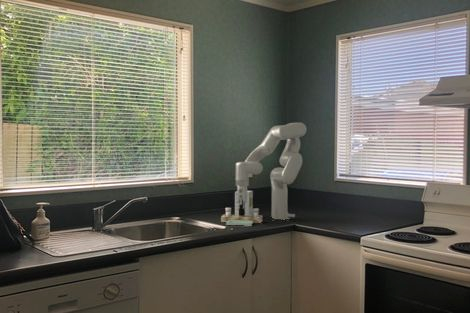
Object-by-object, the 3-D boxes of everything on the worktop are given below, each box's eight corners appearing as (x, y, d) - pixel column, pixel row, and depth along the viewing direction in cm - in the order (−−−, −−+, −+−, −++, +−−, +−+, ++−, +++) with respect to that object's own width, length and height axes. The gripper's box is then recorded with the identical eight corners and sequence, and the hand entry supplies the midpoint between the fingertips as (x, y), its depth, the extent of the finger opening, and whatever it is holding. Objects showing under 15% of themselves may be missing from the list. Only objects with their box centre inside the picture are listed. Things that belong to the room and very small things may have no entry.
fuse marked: (245, 221, 276) (245, 207, 276) (244, 222, 273) (244, 208, 273) (239, 221, 277) (239, 207, 276) (238, 222, 273) (238, 208, 273)
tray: (253, 224, 269) (253, 220, 269) (251, 227, 260) (251, 223, 260) (228, 223, 271) (228, 220, 271) (226, 226, 262) (226, 222, 262)
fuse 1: (231, 221, 277) (231, 207, 277) (230, 222, 274) (230, 208, 274) (225, 221, 278) (226, 207, 277) (225, 222, 274) (225, 208, 274)
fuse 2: (258, 222, 275) (258, 208, 275) (258, 222, 272) (258, 209, 272) (253, 221, 275) (253, 208, 275) (252, 222, 272) (252, 208, 272)
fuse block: (262, 222, 277) (262, 215, 277) (261, 224, 269) (261, 217, 269) (223, 221, 280) (223, 214, 280) (221, 223, 272) (221, 216, 272)
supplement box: (249, 219, 286) (249, 192, 286) (234, 219, 289) (234, 191, 288) (253, 217, 296) (253, 190, 295) (238, 216, 298) (238, 190, 298)
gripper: (246, 184, 266) (246, 217, 266) (250, 182, 282) (249, 213, 282) (233, 184, 267) (233, 216, 267) (237, 182, 283) (237, 212, 283)
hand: (241, 214), depth 275 cm, fingers closed on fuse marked, 3 cm apart
